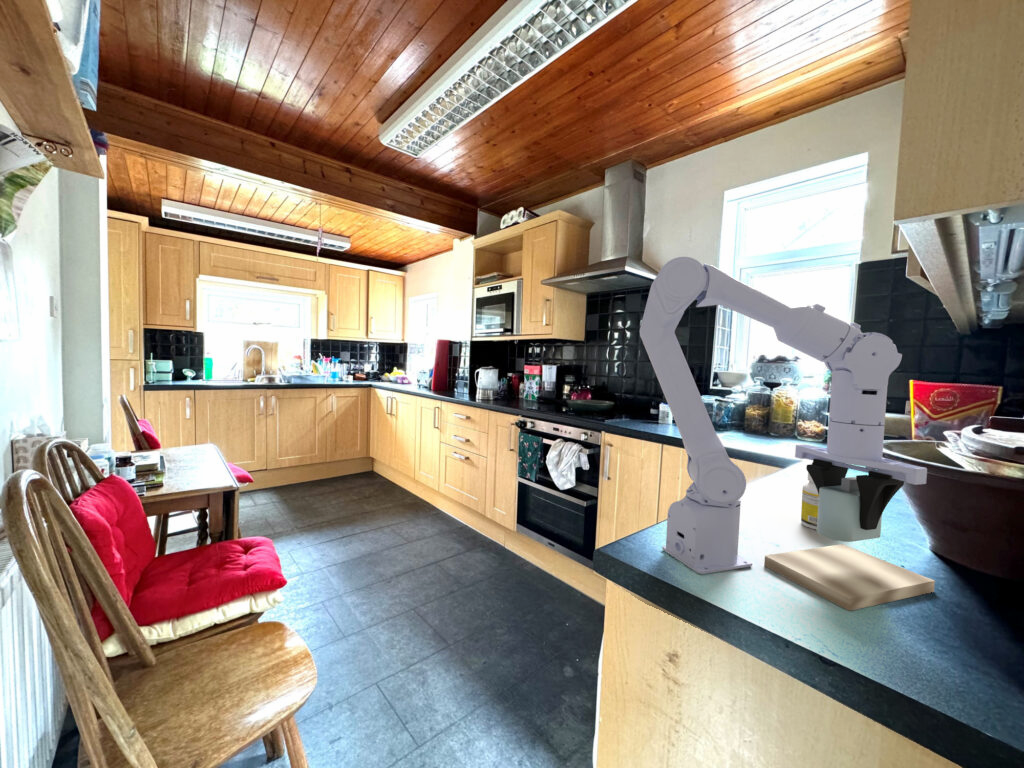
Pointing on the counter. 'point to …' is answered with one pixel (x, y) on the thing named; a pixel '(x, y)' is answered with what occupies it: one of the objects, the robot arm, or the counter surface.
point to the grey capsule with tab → (842, 513)
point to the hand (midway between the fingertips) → (848, 522)
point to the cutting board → (849, 576)
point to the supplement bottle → (810, 504)
